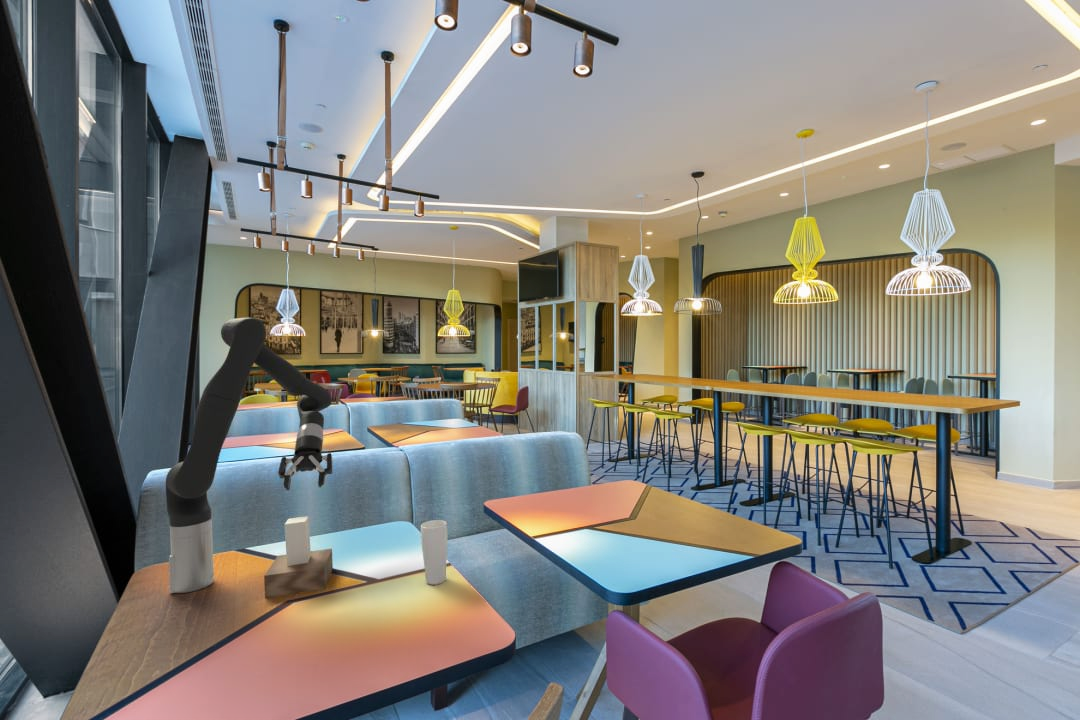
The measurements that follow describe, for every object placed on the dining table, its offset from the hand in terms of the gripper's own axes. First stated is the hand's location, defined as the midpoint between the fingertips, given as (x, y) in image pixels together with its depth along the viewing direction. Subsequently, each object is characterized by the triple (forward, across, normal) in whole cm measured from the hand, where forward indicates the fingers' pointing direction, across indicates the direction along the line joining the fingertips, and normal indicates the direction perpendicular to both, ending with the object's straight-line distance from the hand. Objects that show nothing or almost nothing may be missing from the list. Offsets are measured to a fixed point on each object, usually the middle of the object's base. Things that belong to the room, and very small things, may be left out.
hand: (303, 487), depth 143 cm
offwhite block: (+19, 0, +6) cm, 20 cm away
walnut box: (+23, 0, +10) cm, 25 cm away
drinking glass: (+32, +35, +1) cm, 47 cm away
